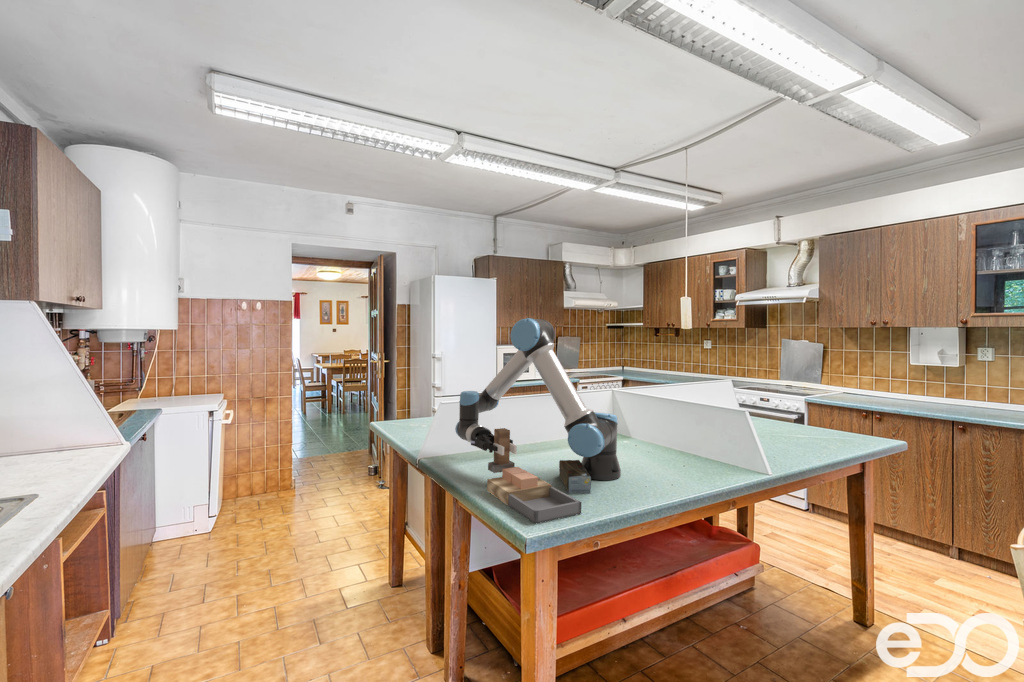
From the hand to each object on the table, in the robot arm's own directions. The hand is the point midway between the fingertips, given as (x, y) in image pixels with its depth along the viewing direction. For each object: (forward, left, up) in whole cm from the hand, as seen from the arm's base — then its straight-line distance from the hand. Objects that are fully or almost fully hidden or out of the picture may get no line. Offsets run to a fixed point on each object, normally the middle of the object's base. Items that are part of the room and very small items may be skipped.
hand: (509, 450), depth 160 cm
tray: (-13, +17, -13) cm, 25 cm away
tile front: (-6, +8, -9) cm, 13 cm away
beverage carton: (-22, -8, -13) cm, 27 cm away
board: (-4, +5, -13) cm, 14 cm away
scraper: (+3, -4, -8) cm, 10 cm away
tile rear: (-2, +3, -9) cm, 9 cm away
